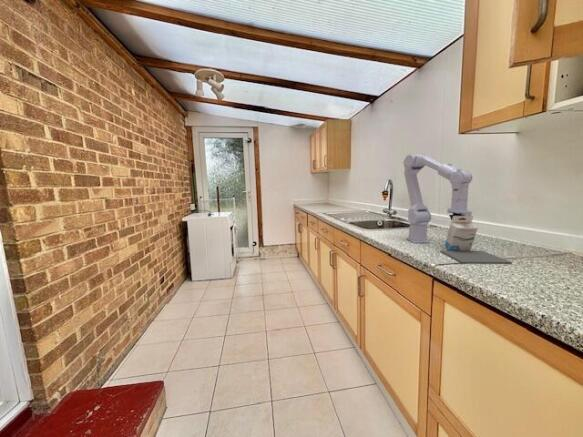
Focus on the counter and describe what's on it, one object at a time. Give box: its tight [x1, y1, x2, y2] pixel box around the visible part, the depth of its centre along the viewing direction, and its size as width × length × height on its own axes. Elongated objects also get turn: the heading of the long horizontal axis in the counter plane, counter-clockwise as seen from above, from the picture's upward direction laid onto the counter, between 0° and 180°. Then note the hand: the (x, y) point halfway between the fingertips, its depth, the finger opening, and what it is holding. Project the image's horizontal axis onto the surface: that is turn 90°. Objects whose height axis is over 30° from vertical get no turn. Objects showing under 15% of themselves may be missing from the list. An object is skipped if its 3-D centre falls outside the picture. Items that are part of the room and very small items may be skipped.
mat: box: [439, 250, 513, 265], centre depth 99 cm, size 16×17×1 cm
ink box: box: [444, 215, 479, 251], centre depth 106 cm, size 9×5×15 cm, turn 84°
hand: (457, 231), depth 109 cm, fingers closed
